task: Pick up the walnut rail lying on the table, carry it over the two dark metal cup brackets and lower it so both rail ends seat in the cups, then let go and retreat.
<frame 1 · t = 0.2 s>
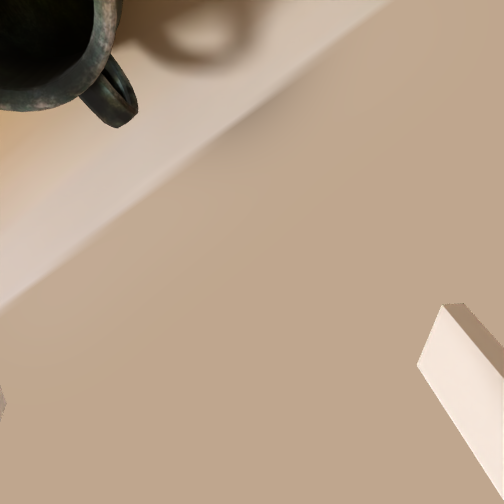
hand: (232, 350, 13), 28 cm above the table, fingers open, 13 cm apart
mug: (65, 4, 30), on the table
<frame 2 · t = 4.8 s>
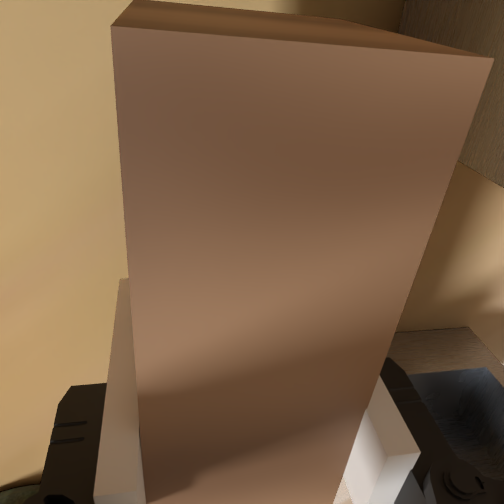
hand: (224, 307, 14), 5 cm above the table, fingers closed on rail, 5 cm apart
bracket a: (491, 65, 17), on the table
bracket b: (392, 357, 25), on the table
rail: (221, 302, 15), point 4 cm above the table, touching gripper
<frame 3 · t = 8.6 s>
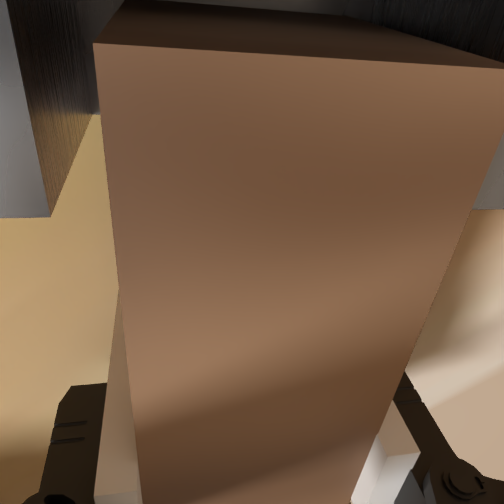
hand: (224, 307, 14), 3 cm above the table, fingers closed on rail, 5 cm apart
bracket a: (218, 15, 12), on the table
rail: (223, 311, 14), point 3 cm above the table, touching bracket a, bracket b, gripper
when the fingers open (3 cm above the table, at t = 8.6 s): rail stays where it is, resting on bracket a, bracket b.
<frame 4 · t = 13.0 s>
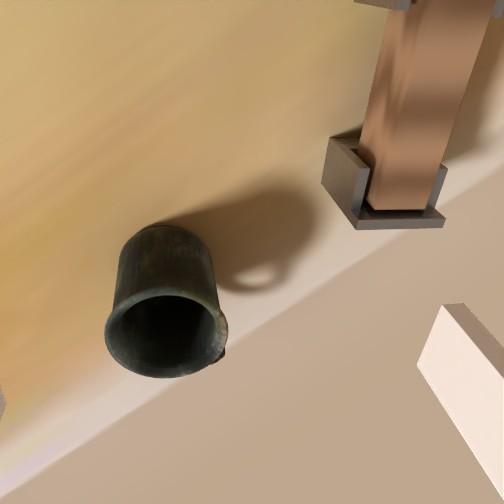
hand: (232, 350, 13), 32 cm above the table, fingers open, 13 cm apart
mug: (175, 270, 49), on the table
bracket b: (364, 157, 46), on the table
rail: (396, 90, 39), point 3 cm above the table, touching bracket a, bracket b
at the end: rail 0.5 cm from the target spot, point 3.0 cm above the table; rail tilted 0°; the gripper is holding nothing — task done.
